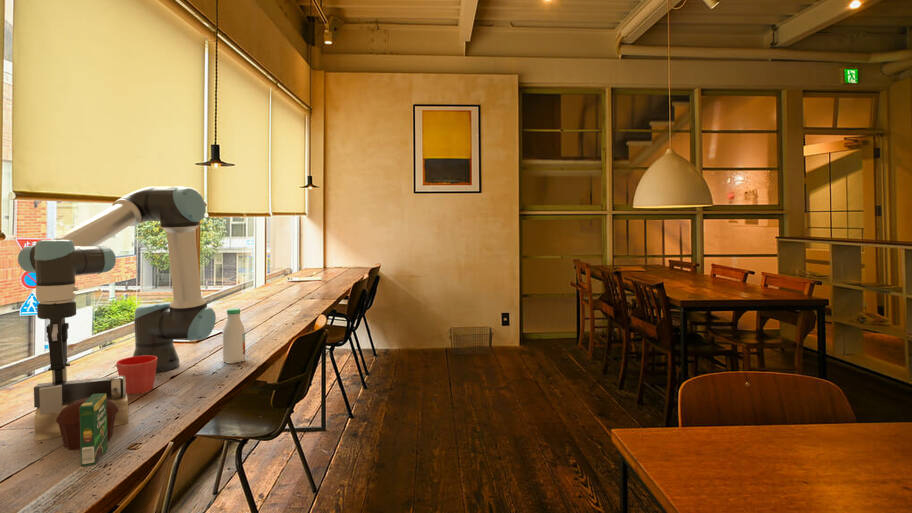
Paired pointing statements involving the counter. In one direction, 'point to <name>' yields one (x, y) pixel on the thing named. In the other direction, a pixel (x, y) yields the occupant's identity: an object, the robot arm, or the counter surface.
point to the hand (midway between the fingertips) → (60, 393)
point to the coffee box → (93, 429)
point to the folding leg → (86, 389)
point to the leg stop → (50, 399)
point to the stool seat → (50, 428)
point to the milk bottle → (233, 337)
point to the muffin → (71, 422)
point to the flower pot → (138, 373)
